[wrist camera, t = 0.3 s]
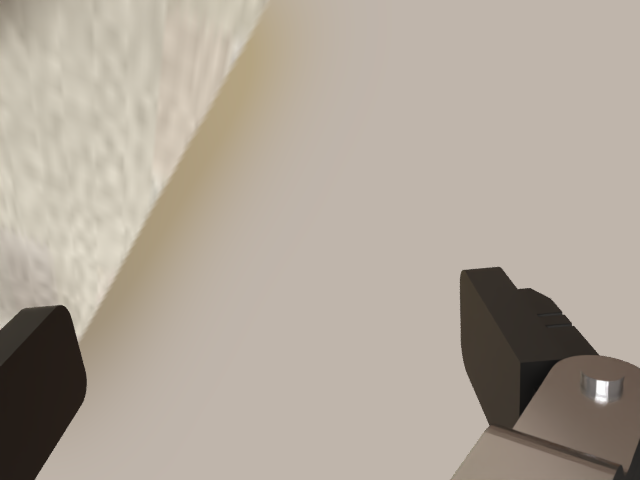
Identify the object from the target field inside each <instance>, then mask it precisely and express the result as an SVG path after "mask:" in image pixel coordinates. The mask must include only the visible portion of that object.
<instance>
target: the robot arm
mask: <svg viewBox="0 0 640 480" xmlns="http://www.w3.org/2000/svg"><path fill="white" fill-rule="evenodd" d="M460 314H461V315H460V316H461V348H462V356H463V361H464V365H465V369H466V372H467V374H468V377H469V379H470V381H471V384H472V386H473V388H474V391H475V393H476V395H477V398H478V400H479V402H480V404H481V407H482V409H483V411H484V414H485V416H486V418H487V421H488V423H489V425H490V426H489V427H488V428H487V429H486V430H485V431H484V433H483V434H482V436H481V437H480V439H479V440H478V441H477V443H476V444H475V446H474V447H473V448H472V450H471V451H470V453H469V454H468V455H467V457H466V459H465V460H464V461H463V462H462V464H461V465H460V467H459V468H458V470H457V471H456V472H455V474H454V475H453V477H452V478H451V479H450V480H640V368H638V367H637V366H635V365H633V364H630V363H628V362H625V361H623V360H619V359H615V358H611V357H606V356H600V355H599V354H598V353H597V352H596V351H595V350H594V349H593V347H592V346H591V345H590V344H589V343H588V341H587V340H586V339H585V338H584V337H583V336H582V335H581V333H580V332H579V331H578V330H577V329H576V328H575V327H574V326H572V323H571V322H570V321H569V319H568V318H567V317H566V316H565V315H562V311H561V310H560V309H559V308H558V307H557V305H556V304H555V303H554V302H553V301H552V300H551V299H550V298H548V297H546V296H544V295H543V294H541V293H539V292H537V291H535V290H533V289H531V288H526V289H517V288H516V287H515V285H514V284H513V283H512V282H511V280H510V279H509V277H508V276H507V275H506V274H505V272H504V271H503V270H502V268H500V267H492V268H481V269H470V270H463V271H462V272H461V276H460ZM86 386H87V379H86V372H85V368H84V364H83V360H82V357H81V352H80V349H79V345H78V341H77V337H76V333H75V330H74V326H73V322H72V318H71V315H70V313H69V311H68V309H67V308H66V307H65V306H63V305H56V306H45V307H34V308H25V309H22V310H21V311H20V312H19V313H18V314H17V315H16V316H15V317H14V318H13V319H12V320H10V321H9V322H8V323H7V324H6V325H5V326H4V327H3V328H2V329H1V330H0V480H35V478H36V477H37V475H38V473H39V472H40V470H41V469H42V467H43V465H44V464H45V462H46V461H47V459H48V457H49V456H50V454H51V453H52V451H53V449H54V448H55V446H56V445H57V443H58V441H59V440H60V438H61V437H62V435H63V433H64V432H65V430H66V428H67V427H68V425H69V424H70V422H71V421H72V419H73V418H74V416H75V414H76V413H77V411H78V409H79V408H80V406H81V405H82V403H83V401H84V398H85V394H86Z"/></svg>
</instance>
